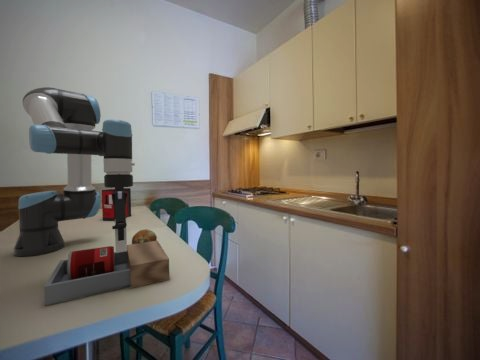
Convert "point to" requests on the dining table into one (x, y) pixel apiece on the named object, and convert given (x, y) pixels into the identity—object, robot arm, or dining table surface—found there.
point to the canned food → (90, 262)
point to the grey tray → (86, 281)
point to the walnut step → (147, 263)
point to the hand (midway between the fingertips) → (120, 244)
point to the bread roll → (144, 236)
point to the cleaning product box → (108, 204)
